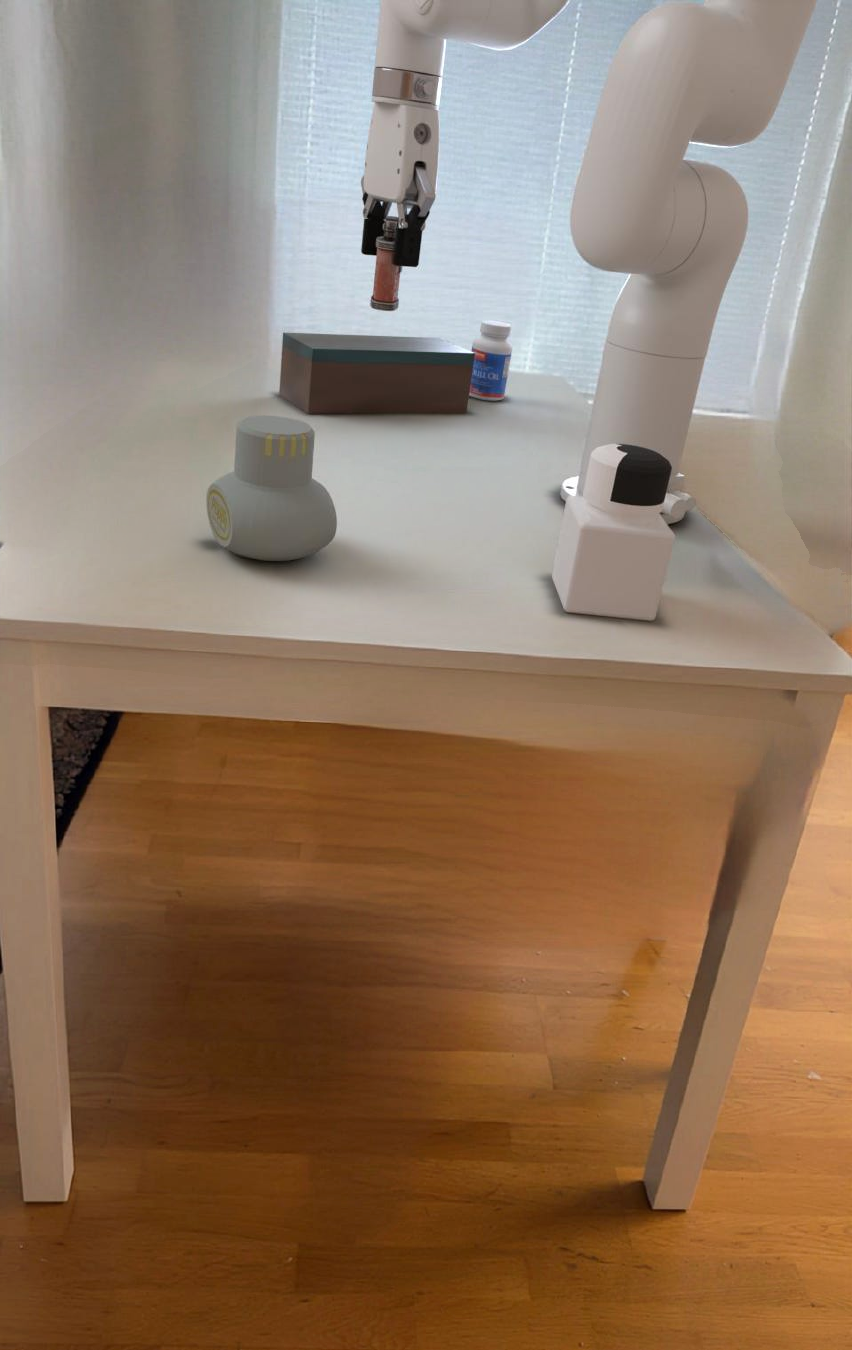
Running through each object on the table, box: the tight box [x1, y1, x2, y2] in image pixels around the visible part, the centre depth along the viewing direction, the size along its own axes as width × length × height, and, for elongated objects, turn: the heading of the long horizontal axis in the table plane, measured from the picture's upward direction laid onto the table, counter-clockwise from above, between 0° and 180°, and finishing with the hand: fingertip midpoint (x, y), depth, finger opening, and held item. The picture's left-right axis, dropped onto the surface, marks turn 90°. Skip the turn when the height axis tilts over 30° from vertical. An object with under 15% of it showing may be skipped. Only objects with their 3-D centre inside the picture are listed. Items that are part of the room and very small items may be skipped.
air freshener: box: [206, 415, 338, 562], centre depth 82 cm, size 11×8×10 cm
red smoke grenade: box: [369, 215, 403, 312], centre depth 126 cm, size 8×3×10 cm, turn 179°
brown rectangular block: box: [278, 332, 475, 415], centre depth 132 cm, size 9×22×8 cm, turn 119°
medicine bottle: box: [551, 444, 676, 622], centre depth 81 cm, size 7×7×12 cm
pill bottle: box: [469, 319, 513, 402], centre depth 144 cm, size 6×5×10 cm
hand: (389, 259), depth 126 cm, fingers closed on red smoke grenade, 7 cm apart
